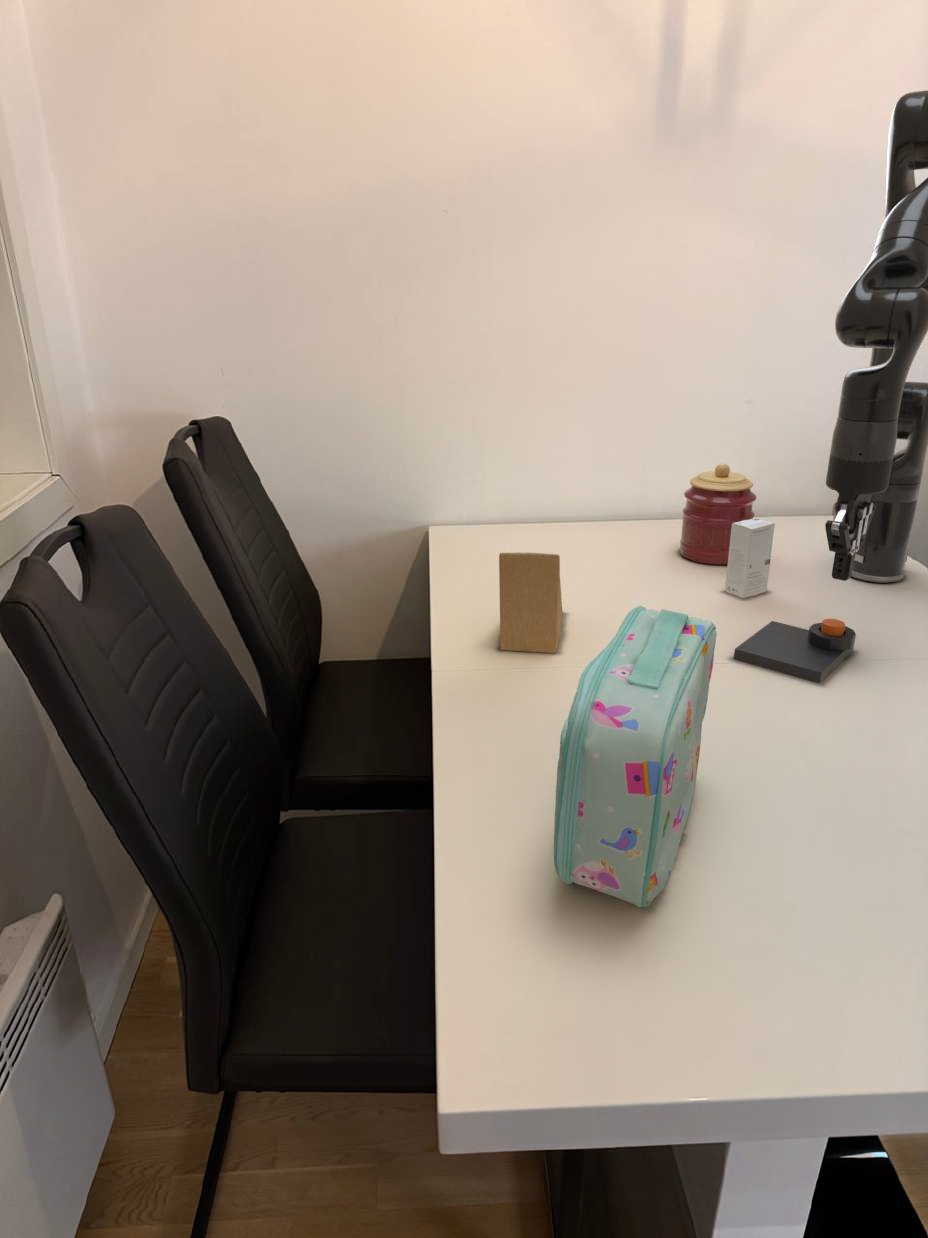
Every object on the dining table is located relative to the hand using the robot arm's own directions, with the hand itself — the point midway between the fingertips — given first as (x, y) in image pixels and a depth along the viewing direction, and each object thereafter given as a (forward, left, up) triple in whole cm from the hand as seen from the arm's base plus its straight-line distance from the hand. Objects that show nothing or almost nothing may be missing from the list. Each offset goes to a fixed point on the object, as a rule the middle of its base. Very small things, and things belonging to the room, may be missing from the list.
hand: (841, 578), depth 115 cm
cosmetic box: (-16, -19, -12) cm, 28 cm away
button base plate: (+4, -3, -11) cm, 13 cm away
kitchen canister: (-31, -32, -12) cm, 46 cm away
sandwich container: (+20, -37, -12) cm, 44 cm away
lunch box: (+54, 0, -12) cm, 55 cm away
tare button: (0, 0, -8) cm, 8 cm away
